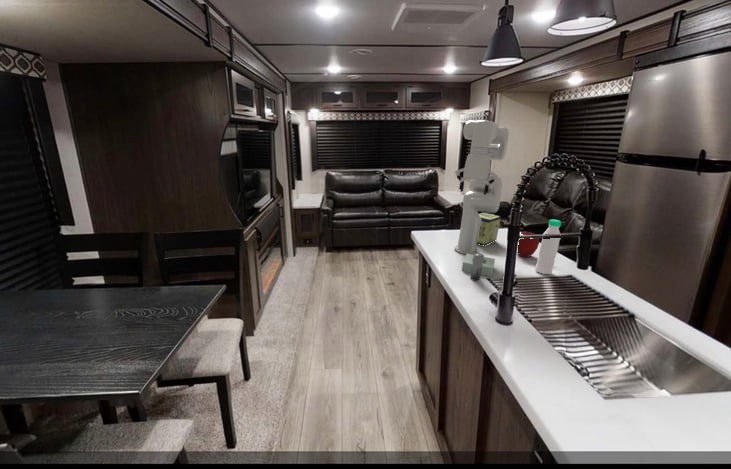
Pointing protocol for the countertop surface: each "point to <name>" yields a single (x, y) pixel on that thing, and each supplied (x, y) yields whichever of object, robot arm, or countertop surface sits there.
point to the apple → (527, 245)
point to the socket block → (486, 267)
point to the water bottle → (548, 249)
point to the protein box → (488, 228)
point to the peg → (477, 266)
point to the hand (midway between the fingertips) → (473, 192)
